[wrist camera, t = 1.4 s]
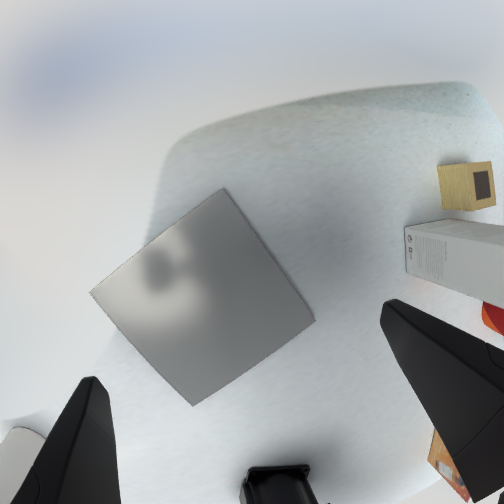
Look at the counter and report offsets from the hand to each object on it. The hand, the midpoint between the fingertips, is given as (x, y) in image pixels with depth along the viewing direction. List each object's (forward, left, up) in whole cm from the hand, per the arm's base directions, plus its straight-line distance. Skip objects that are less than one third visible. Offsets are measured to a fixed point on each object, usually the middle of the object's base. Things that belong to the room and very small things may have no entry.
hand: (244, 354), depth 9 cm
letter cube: (-21, -10, -14) cm, 27 cm away
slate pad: (0, +3, -14) cm, 15 cm away
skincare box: (-19, -4, -14) cm, 24 cm away
